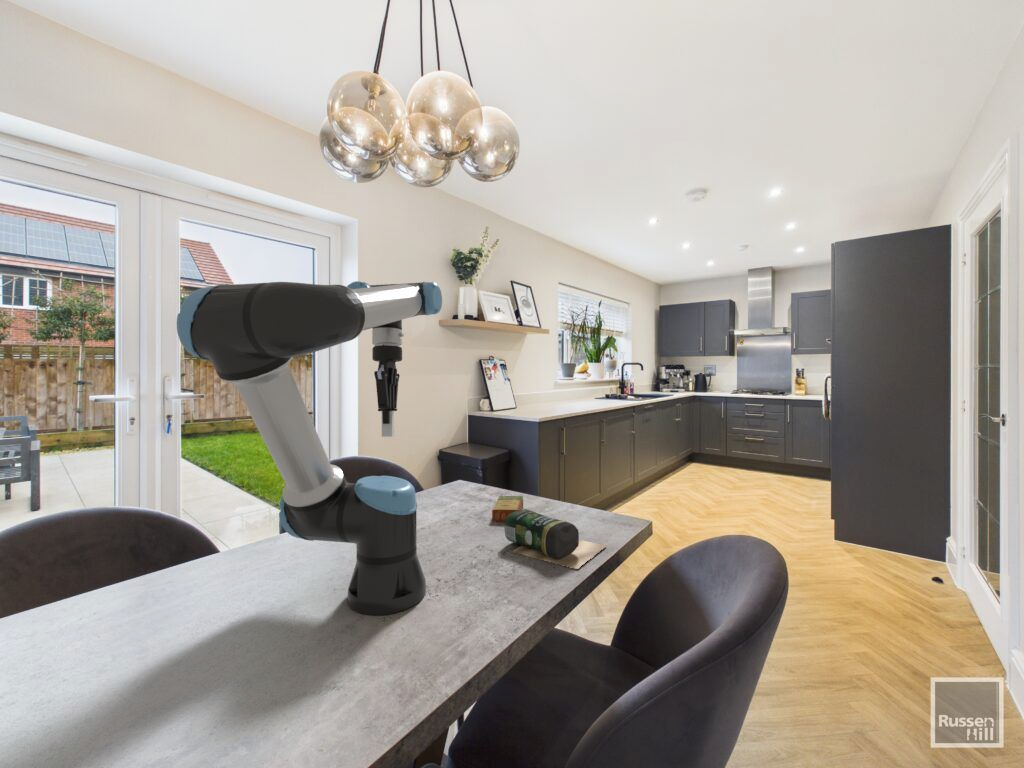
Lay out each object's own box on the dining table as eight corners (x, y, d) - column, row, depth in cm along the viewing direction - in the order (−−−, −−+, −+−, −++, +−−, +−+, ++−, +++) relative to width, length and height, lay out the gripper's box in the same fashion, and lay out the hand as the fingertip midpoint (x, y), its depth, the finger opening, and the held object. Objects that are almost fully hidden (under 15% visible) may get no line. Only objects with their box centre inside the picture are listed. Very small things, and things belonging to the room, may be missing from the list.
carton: (491, 523, 135) (491, 509, 135) (499, 507, 151) (498, 494, 151) (519, 523, 134) (518, 509, 134) (523, 507, 150) (523, 495, 150)
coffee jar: (528, 505, 123) (582, 521, 109) (528, 533, 123) (582, 553, 110) (502, 513, 116) (556, 531, 103) (502, 543, 116) (556, 565, 103)
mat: (512, 552, 111) (512, 550, 111) (545, 533, 124) (545, 531, 124) (577, 570, 101) (577, 568, 101) (606, 547, 114) (606, 545, 114)
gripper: (393, 342, 110) (393, 438, 109) (408, 348, 123) (409, 434, 122) (363, 343, 111) (363, 438, 110) (382, 349, 124) (382, 434, 123)
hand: (387, 436), depth 116 cm, fingers closed
